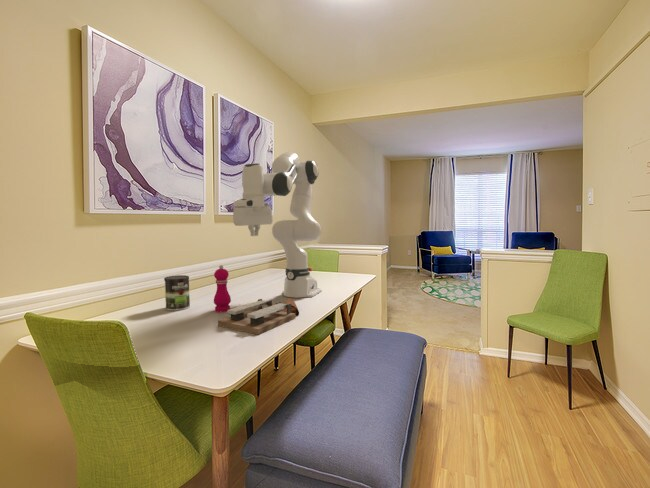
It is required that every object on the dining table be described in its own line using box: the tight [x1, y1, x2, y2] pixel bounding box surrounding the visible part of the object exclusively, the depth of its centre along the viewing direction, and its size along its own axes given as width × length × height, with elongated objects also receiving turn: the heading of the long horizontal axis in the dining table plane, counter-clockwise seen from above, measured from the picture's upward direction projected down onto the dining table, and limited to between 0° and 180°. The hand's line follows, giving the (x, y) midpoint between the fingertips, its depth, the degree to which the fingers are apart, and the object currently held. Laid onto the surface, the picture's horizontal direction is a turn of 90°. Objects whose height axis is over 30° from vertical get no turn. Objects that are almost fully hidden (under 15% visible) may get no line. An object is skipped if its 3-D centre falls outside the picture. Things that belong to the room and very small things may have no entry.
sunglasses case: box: [281, 297, 300, 317], centre depth 149 cm, size 18×7×7 cm, turn 13°
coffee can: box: [164, 274, 191, 312], centre depth 155 cm, size 10×10×14 cm
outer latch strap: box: [247, 302, 287, 319], centre depth 131 cm, size 19×4×1 cm, turn 149°
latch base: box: [217, 298, 296, 336], centre depth 133 cm, size 22×20×6 cm
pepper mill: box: [213, 264, 232, 313], centre depth 150 cm, size 7×7×20 cm
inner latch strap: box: [226, 299, 268, 315], centre depth 136 cm, size 19×4×1 cm, turn 149°
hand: (254, 236), depth 143 cm, fingers closed
